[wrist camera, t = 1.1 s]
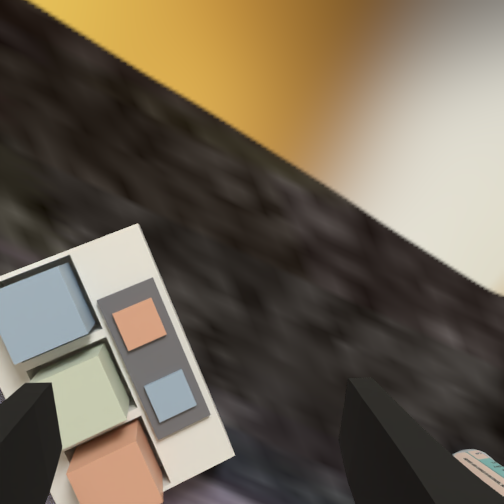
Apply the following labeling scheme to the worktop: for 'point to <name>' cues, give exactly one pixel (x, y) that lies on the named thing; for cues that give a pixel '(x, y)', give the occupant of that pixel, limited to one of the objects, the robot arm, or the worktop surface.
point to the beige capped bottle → (483, 468)
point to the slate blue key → (43, 313)
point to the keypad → (133, 357)
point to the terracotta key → (116, 469)
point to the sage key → (86, 394)
